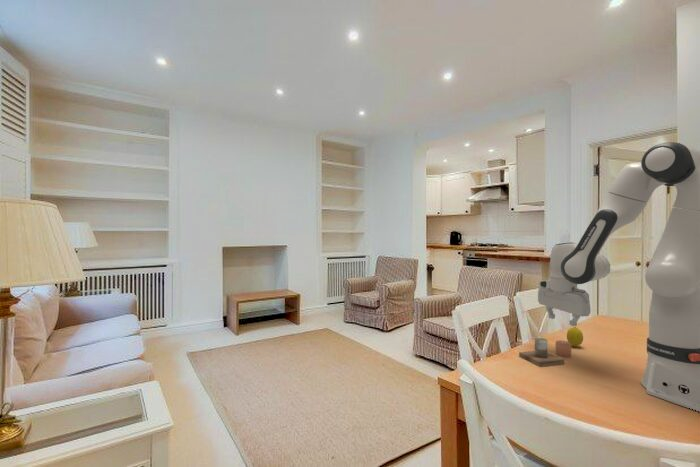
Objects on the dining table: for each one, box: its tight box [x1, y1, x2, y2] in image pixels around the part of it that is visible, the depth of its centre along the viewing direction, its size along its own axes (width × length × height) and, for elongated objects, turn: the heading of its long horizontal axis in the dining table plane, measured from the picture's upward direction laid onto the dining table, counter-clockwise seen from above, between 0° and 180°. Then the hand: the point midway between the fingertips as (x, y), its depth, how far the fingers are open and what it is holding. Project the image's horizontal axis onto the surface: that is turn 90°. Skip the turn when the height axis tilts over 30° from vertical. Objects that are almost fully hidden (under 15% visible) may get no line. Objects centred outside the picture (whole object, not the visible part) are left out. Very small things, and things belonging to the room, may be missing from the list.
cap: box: [555, 339, 572, 358], centre depth 127 cm, size 5×5×5 cm
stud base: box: [518, 337, 565, 368], centre depth 122 cm, size 10×10×8 cm
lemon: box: [566, 326, 584, 348], centre depth 136 cm, size 6×6×8 cm
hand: (561, 321), depth 128 cm, fingers open, 8 cm apart
